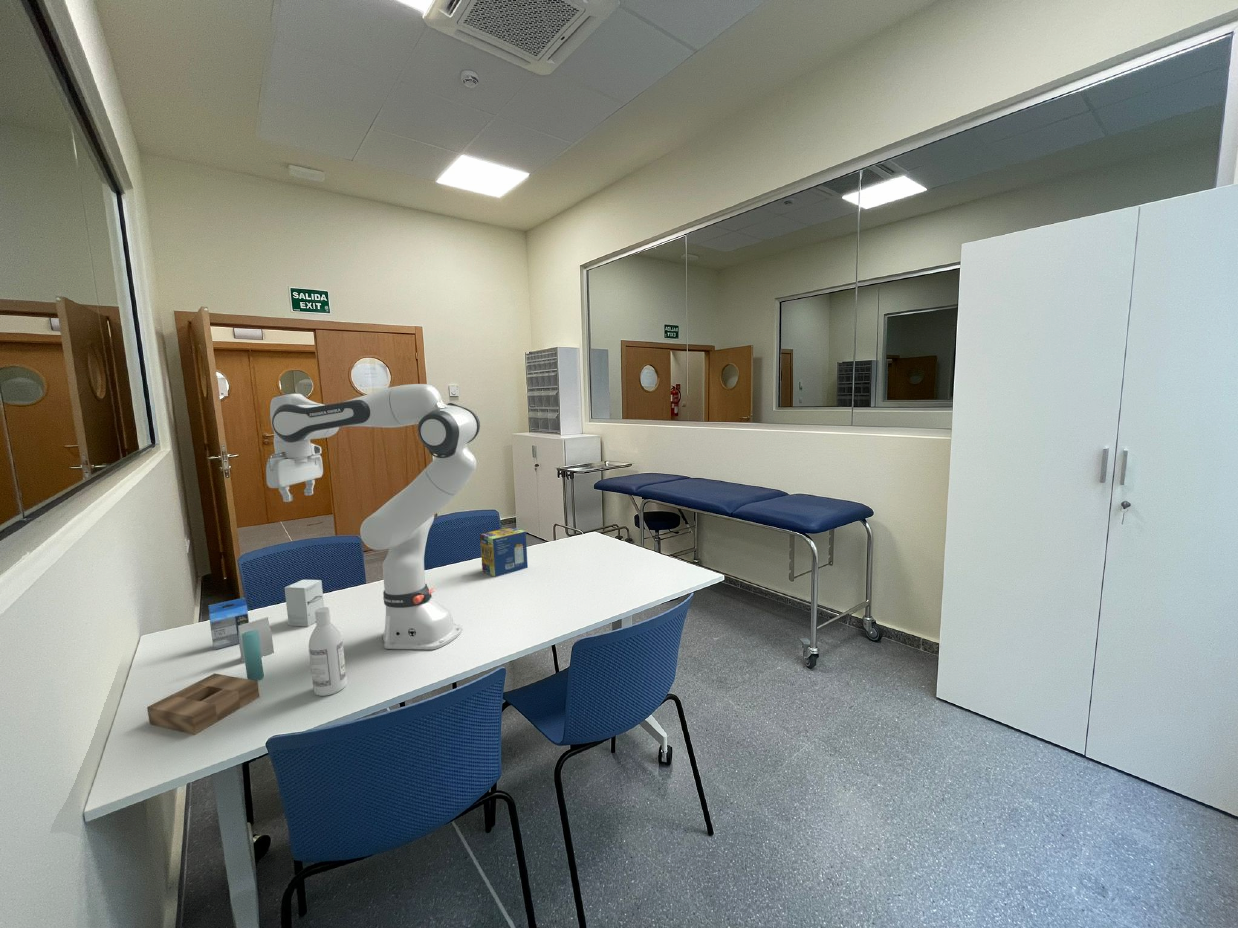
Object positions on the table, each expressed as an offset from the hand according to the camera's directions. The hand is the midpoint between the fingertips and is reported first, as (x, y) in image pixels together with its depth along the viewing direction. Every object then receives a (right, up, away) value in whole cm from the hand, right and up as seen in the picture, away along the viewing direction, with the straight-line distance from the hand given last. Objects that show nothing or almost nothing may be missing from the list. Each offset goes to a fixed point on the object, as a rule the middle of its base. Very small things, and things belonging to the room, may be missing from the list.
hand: (299, 498), depth 147 cm
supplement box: (-6, -41, +14) cm, 43 cm away
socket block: (-1, -46, -32) cm, 56 cm away
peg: (+1, -44, -19) cm, 48 cm away
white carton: (-7, -43, -7) cm, 44 cm away
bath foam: (+23, -45, -25) cm, 56 cm away
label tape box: (-20, -43, +1) cm, 47 cm away
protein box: (+47, -33, +58) cm, 82 cm away
